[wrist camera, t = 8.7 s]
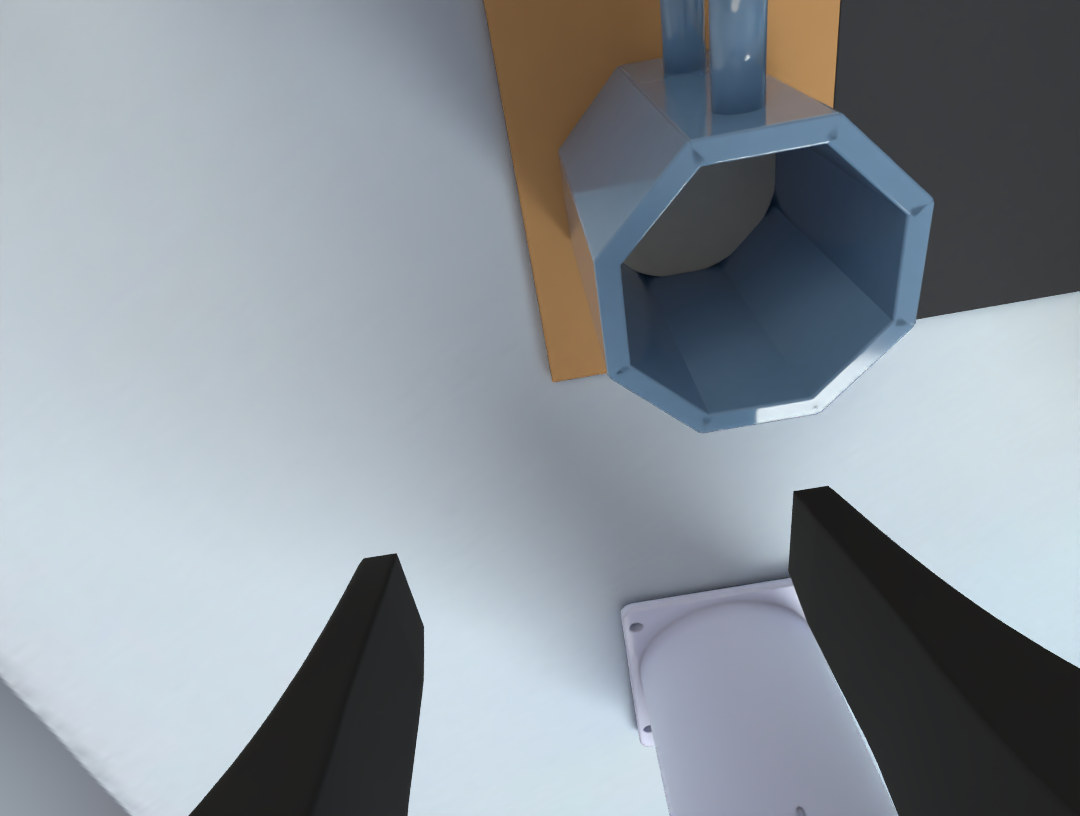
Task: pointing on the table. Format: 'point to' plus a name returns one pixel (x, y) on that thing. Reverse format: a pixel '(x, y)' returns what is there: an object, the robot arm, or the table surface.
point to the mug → (736, 229)
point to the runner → (862, 96)
